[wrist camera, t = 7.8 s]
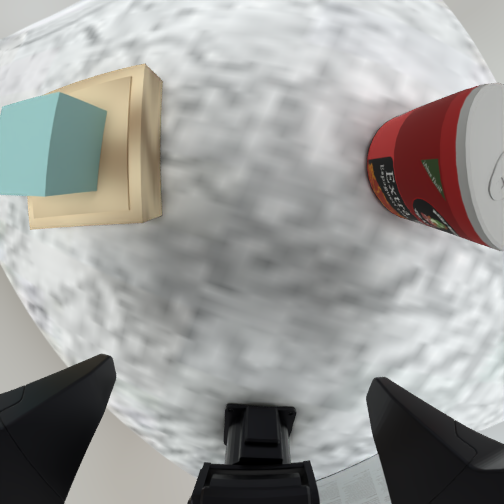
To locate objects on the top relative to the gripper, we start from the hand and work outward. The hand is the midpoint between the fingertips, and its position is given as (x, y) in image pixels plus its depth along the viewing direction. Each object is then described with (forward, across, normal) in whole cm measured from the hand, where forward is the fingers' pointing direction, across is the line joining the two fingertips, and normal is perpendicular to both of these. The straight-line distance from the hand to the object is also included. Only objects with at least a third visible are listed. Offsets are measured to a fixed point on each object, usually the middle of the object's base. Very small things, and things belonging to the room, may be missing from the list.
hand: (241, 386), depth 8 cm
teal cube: (+8, +12, -8) cm, 17 cm away
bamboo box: (+12, +12, -8) cm, 19 cm away
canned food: (+12, -11, -9) cm, 19 cm away
